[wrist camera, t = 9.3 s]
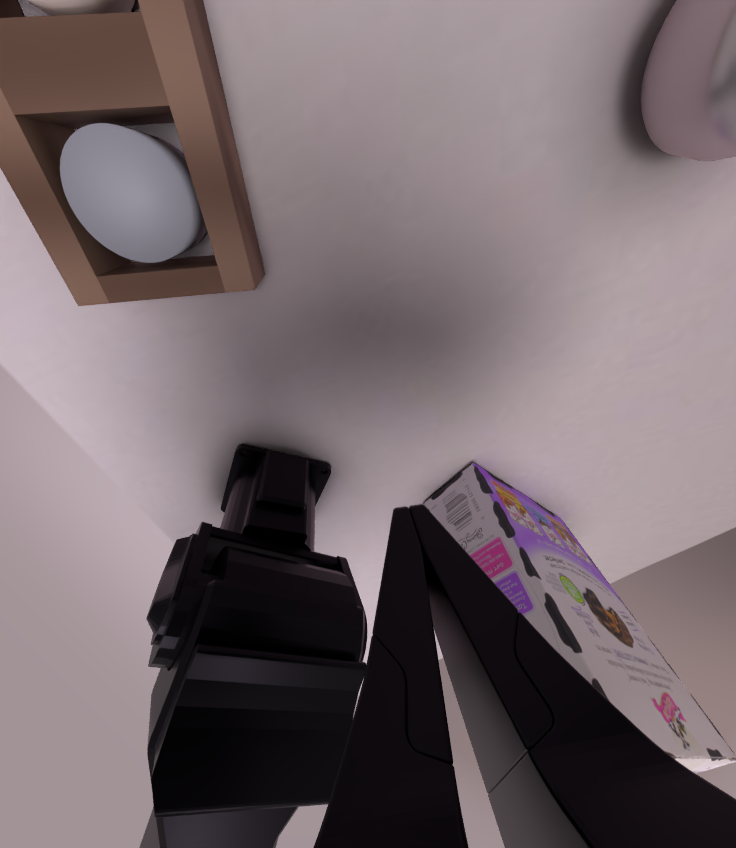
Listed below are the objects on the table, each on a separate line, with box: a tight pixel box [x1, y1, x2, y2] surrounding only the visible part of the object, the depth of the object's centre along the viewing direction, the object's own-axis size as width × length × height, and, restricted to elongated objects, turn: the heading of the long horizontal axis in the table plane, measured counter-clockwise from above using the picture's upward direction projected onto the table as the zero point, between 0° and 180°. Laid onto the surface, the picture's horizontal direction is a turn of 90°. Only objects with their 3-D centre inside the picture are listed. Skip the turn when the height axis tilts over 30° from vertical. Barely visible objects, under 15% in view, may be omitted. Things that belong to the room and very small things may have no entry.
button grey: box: [60, 123, 207, 263], centre depth 13 cm, size 4×4×2 cm
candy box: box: [424, 463, 736, 773], centre depth 23 cm, size 14×6×16 cm, turn 51°
